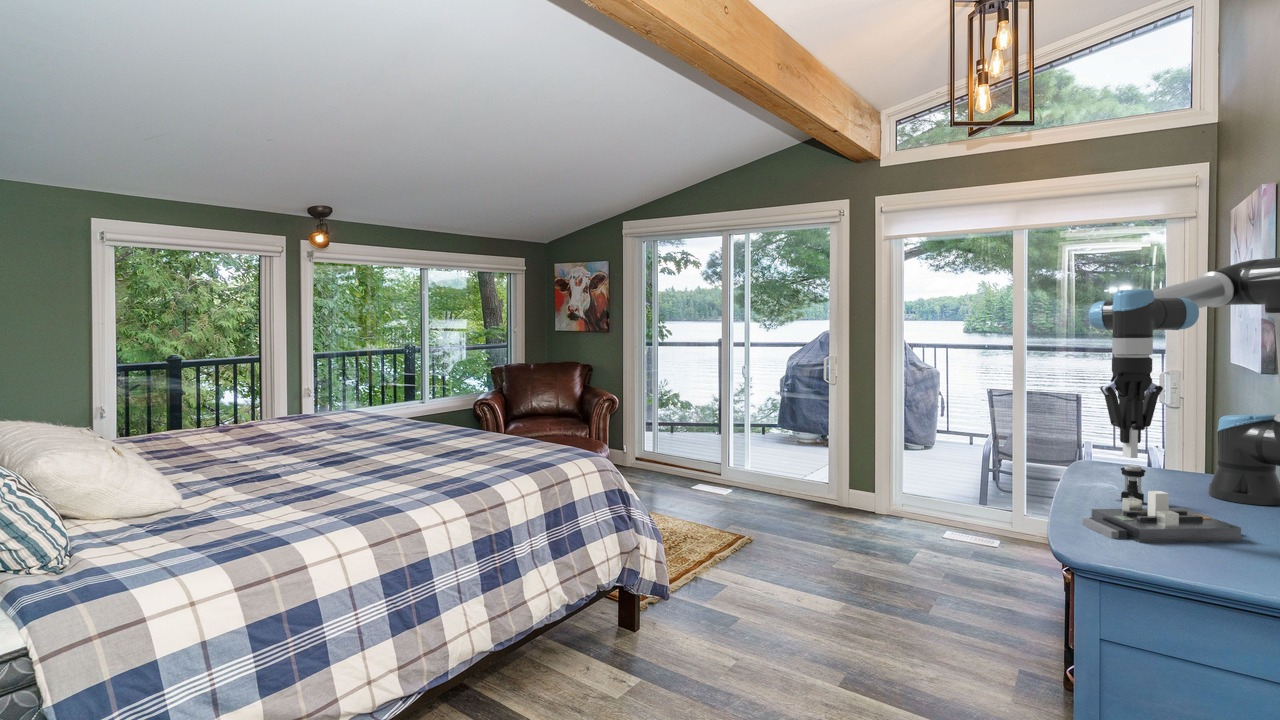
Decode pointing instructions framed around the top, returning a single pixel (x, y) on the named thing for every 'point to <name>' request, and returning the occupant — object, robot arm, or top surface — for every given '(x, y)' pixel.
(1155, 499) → the lever
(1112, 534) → the narrow gray bar
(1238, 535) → the panel
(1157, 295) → the robot arm
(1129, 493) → the push button
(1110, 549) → the top surface
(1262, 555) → the top surface
